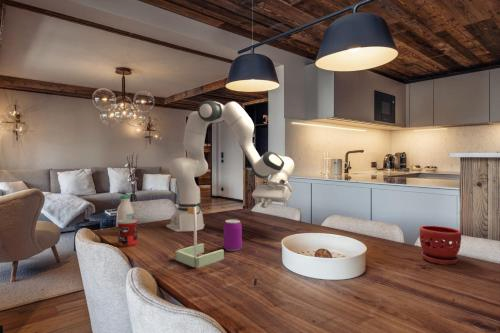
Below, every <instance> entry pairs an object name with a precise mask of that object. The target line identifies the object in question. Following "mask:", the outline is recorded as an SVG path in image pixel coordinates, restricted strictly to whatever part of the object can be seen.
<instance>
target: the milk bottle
mask: <svg viewBox="0 0 500 333" xmlns="http://www.w3.org/2000/svg"><path fill="white" fill-rule="evenodd" d="M124 219H135V212H134V208H133V205H132V204H131V195H130V194H121V195H120V204H119V207H118V209H117V222H118V221H120V220H124Z"/></svg>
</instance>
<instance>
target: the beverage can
mask: <svg viewBox="0 0 500 333" xmlns="http://www.w3.org/2000/svg"><path fill="white" fill-rule="evenodd" d="M242 232H243V228H242V223H241V220H239V219H233V218H232V219H231V218H230V219H226V220H225V221H224V224H223V248H224V249H225V250H226V251H228V252H237V251H240V250H241V249H242V247H243V238H242V236H243V234H242Z"/></svg>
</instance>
